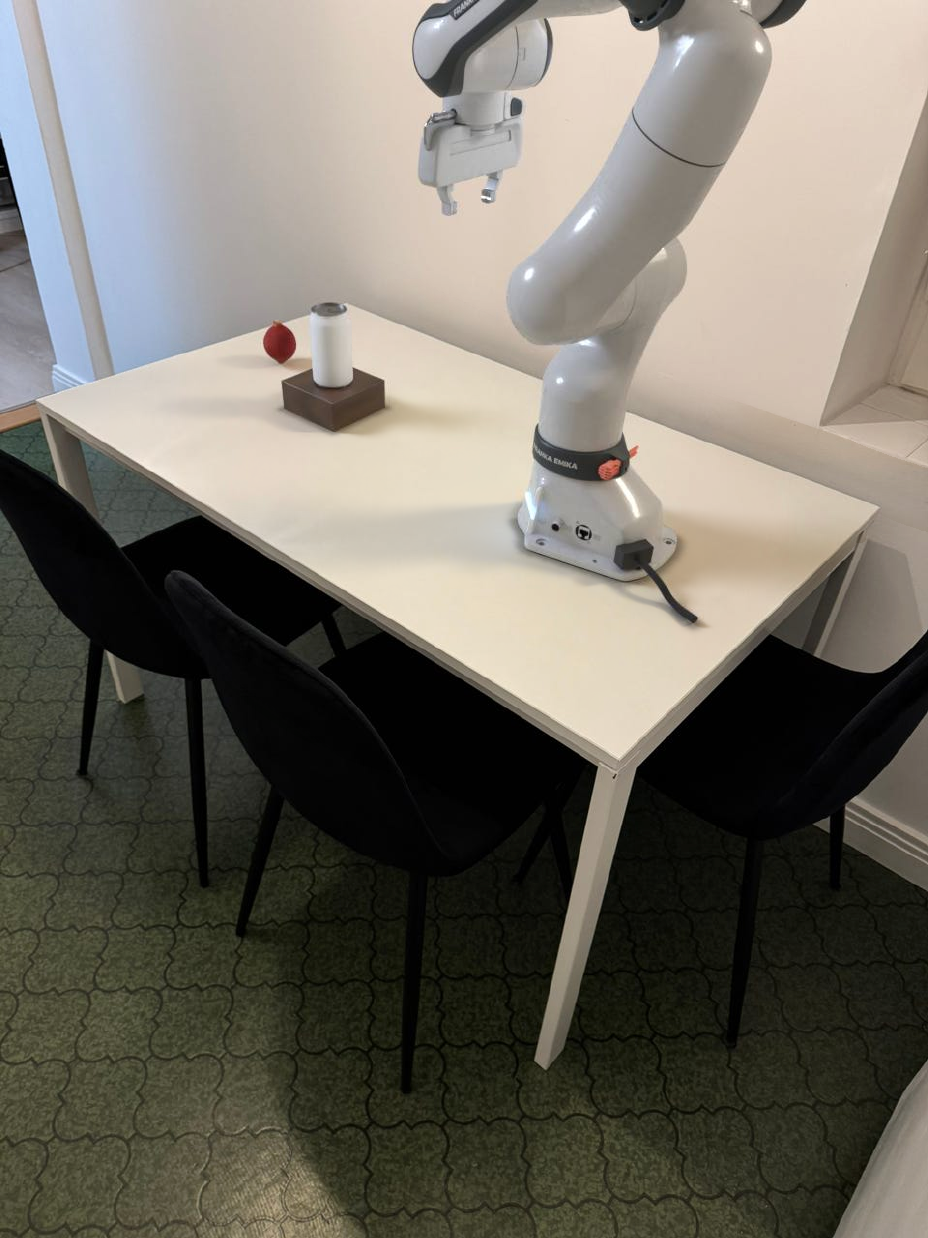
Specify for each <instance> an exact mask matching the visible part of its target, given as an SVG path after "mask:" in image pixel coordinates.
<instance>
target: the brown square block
mask: <svg viewBox="0 0 928 1238" xmlns="http://www.w3.org/2000/svg"><path fill="white" fill-rule="evenodd" d="M385 385H386V383H385V379H382V378H380V377H377V376H375V375H373V374H370V373H368V372H365V371H363V370H361V369H359V368H356V367H353V380H352V381H351V383H350V384H349V385H347V386H345V387H341V388H325V387H322V386H319V385H318V384H317V383H316V382H315V381H314V378H313V367H312V368H309V369H307V370H305V371H302V372H300V373H297V374H295V375H292V376H290V377H288V378H285V379H282V380H281V392H282V401H283V409H284V410H286V411H288V412H291V413H293V414H295V415H297V416H299V417H301V418H303V419H304V420H307V421H310V422H311V423H314V424H316V425H317V426H320V427H322V428H324V429H326V430H328V431H331V432H333V433H335V432H337V431H340V430H341V429H344V428H346V427H348V426H350V425H352V424H354V423H356V422H359V421H360V420H362V419H364V418H366V417H369V416H371V415H373V414H375V413H377V412H379V411H381V410H383V409H385V408H386V389H385V387H386V386H385Z"/></svg>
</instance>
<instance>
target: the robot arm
mask: <svg viewBox="0 0 928 1238" xmlns="http://www.w3.org/2000/svg"><path fill="white" fill-rule="evenodd" d="M806 2H807V0H445V2H435V3H433V4H431V5H430V6H429V7H428V8H427V9H426V11H425V12H424V14H423V15H422V16H421V18H420V19H419V21H418V23H417V25H416V27H415V29H414V32H413V36H412V43H411V54H412V62H413V66H414V70H415V72H416V74H417V76H418V77H419V79H420V80H421V81H422V83H424V85H425V87H427V88H428V89H429V90H430V91H431V92H432V93H433V94H434V95H435V96H437V97H438V98H440V99H442V105H441V107H442V108H441V109H442V111H441V112H433V113H432V114H430V116H429V118H428V119H427V121H426V122H425V123H424V125H423V129H422V130H423V131H422V134H421V137H420V142H419V151H418V163H417V164H418V165H417V177H418V181H420V184H422V186H427V187H430V188H434V189H436V190H435V191H436V192H437V195H438V197H439V200H440V202H441V214H442V215H444V216H448V217H450V216H454V215H456V214H457V213H458V201H455V200H454V198H453V195H452V192H454V186H455V185H454V184H457V183H461V182H465V181H468V180H473V179H476V178H479V177H483V176H485V177H487V180H486V184H485V187H484V188H483V189H481V198H480V199H481V200H480V201H481V202H482V203H483V204H488V205H489V204H492V203H493V204H494V203H495V202H496V201H497V190H498V188H499V187H500V184H501V181H502V179H503V173H504V171H506V170H509V169H512V168H515V167H517V166H518V165H519V162H520V159H521V156H522V150H523V139H524V138H523V137H524V121H523V119H522V116H524V115H525V111H526V100H525V99H524V98H523V97H520V96H517V95H515V94H513V93H510V91H522V90H523V91H524V90H527V89H531V88H535V87H536V86H538V85H539V84H540V82H542V80H543V79H544V78H545V76H546V75H547V73H548V70H549V67H550V65H551V61H552V57H553V51H554V49H553V47H554V36H553V32H552V28H551V24H550V23H549V20H548V19H553V18H564V17H566V18H567V17H582V16H583V17H584V16H595V15H602V14H608V13H610V12H612V11H615V10H618V9H621V8H622V7H624V8H625V9H626V10H627V13H628V18H629V22H630V24H631V26H632V27H633V28H634V29H635V30H636V31H639V32H648V31H651V30H654V29H655V28H657V33H658V50H657V55H656V58H655V60H654V62H653V66H652V68H651V70H650V72H649V74H648V77H647V78H646V80H645V82H644V84H643V86H642V88H641V89H640V91H639V93H638V95H637V97H636V99H635V101H634V102H633V103H634V104H633V105H632V107H631V110H630V112H629V114H628V115H627V118H626V120H625V122H624V124H623V126H622V128H621V130H620V132H619V134H618V136H617V138H616V140H615V142H614V144H613V146H612V148H611V150H610V152H609V154H608V156H607V157H606V160H605V161H604V164H603V166H602V168H601V169H600V171H599V173H598V174H597V175H596V177H595V178H594V180H593V182H592V183H591V185H590V186H589V187H588V188H587V190H586V192H585V193H584V194H583V195H582V197H581V198H579V200H578V201H577V203H576V204H575V205H574V207H573V208H572V209H571V210H570V212H569V213H568V214H567V216H566V217H565V218H564V219H563V220H562V221H561V222H560V224H559V225H558V227H557V228H555V230H554V231H553V232H552V233H551V235H550V236H549V237H548V238H547V239H546V241H544V242H543V243H542V244H541V245H540V246H539V247H538V248H537V249H536V250H535V251H534V252H532V253H531V254H530V255H529V256H527V257H526V258H525V259H523V260H522V261H521V262H520V263H519V264H518V265H516V267H515V268H514V269H513V270H512V272H511V274H510V276H509V279H508V281H507V285H506V287H507V288H506V297H505V298H506V308H507V312H508V315H509V319H510V321H511V323H512V325H513V327H514V328H515V330H516V331H517V332H518V334H519V335H520V336H521V337H522V338H523V339H524V340H525V341H526V342H528V343H530V344H532V345H535V346H538V347H546V346H548V347H550V346H553V347H554V346H561V348H560V349H559V350H558V352H557V353H556V354H555V355H554V356H553V358H551V360H550V362H549V363H548V365H547V367H546V368H545V371H544V374H543V376H542V385H541V395H540V404H539V415H538V422H537V423H536V425H535V427H534V431H533V433H534V434H533V441H532V450H531V454H532V458H533V463H532V469H531V473H530V478H529V482H528V486H527V490H526V492H525V496H524V498H523V501H522V504H521V506H520V508H519V511H518V512H517V523H518V526H519V528H520V530H521V531H522V533H523V535H524V538H523V546H524V548H525V549H527V550H528V551H531V552H534V553H537V554H540V555H543V556H546V557H548V558H551V559H554V560H557V561H561V562H563V563H567V564H570V565H572V566H576V567H579V568H582V569H583V570H584V569H585V570H588V571H590V572H594V573H596V574H600V575H603V576H606V577H609V578H612V579H615V580H618V581H622V582H629V581H630V582H631V581H635V580H639V579H642V578H644V577H647V576H649V577H650V579H651V580H652V581H653V582H654V584H655V585H656V586H657V589H659V591H660V593H661V595H662V596H663V599H665V601H666V602H667V603H668V604H669V606H670V607H671V608H672V609H673V610H674V611H676V612H677V613H678V614H679V615H681V616H682V617H684V618H686V619H687V620H688V621H690V623H692V624H694V623H696V622H697V621H698V617H699V616H697V615H695V614H694V613H693V612H691V611H689V610H688V608H686V607H684V606H683V605H681V604H680V602H679V601H677V599H675V597H674V596H673V595H672V593H671V592H670V590H669V588H668V586H667V584H666V583H665V581H664V580H663V578H662V577H661V576H660V575H659V574H658V572H657V570H658V569H660V568H661V567H663V566H664V565H665V563H667V562H668V561H669V559H670V558H671V557H672V556H673V554H674V553H675V551H676V549H677V543H678V540H677V539H678V537H677V536H678V535H677V533H676V532H675V531H674V530H672V529H671V528H668V527H667V526H666V525H664V508H663V503H662V501H661V499H660V498H659V497H658V495H656V493H655V492H654V491H653V490H652V489H651V488H650V486H649V485H648V484H647V483H646V481H644V479H643V478H642V477H641V476H640V475H639V473H638V472H637V471H636V470H635V468H634V467H632V465H631V459H632V458H634V457H635V456H636V455H637V454H638V451H637V450H638V449H639V445H635V446H634V447H633V448H630V449H628V446H627V441H626V437H625V434H624V432H623V431H624V426H625V425H624V424H625V421H626V420H625V419H626V414H627V410H628V403H629V398H630V393H631V388H632V386H633V385H632V384H633V382H634V381H633V380H634V378H635V375H636V372H637V370H638V367H639V364H640V363H641V360H642V358H643V356H644V353H645V351H646V348H647V347H648V345H649V342H650V340H651V338H652V336H653V334H654V332H655V330H656V328H657V326H658V324H659V322H660V320H661V319H662V317H663V315H664V314H665V312H666V311H667V310H668V308H669V307H670V306H671V304H672V303H673V302H674V301H675V300H676V299H677V297H678V296H679V295H680V293H681V292H682V291H683V288H684V287H685V283H686V280H687V275H688V261H687V255H686V251H685V249H684V247H683V245H682V243H681V241H680V239H679V238H678V237H679V236H680V235H681V233H683V232H684V231H685V230H686V229H687V227H688V226H689V225H690V224H691V222H692V221H693V220H694V218H695V216H696V214H697V213H698V211H699V210H700V208H701V206H702V205H703V203H704V202H705V199H706V198H707V196H708V194H709V193H710V191H711V190H712V188H713V186H714V185H715V183H716V181H717V179H718V178H719V177H720V174H721V173H722V171H723V169H724V168H725V166H726V165H727V162H728V161H729V159H730V158H731V156H732V154H733V152H734V151H735V149H736V147H737V145H738V144H739V142H740V140H741V138H742V135H743V134H744V133H745V130H746V128H747V126H748V124H749V122H750V120H751V118H752V115H753V113H754V111H755V109H756V107H757V104H758V102H759V100H760V97H761V95H762V92H763V90H764V87H765V85H766V82H767V79H768V77H769V74H770V71H771V68H772V61H773V50H772V46H771V45H772V44H771V41H770V39H769V37H768V35H767V33H766V31H765V30H766V29H771V28H775V27H778V26H781V25H783V24H785V23H786V22H788V21H789V20H791V19H792V18H793V17H794V16H796V15H797V14H798V13H799V12H800V10H801V9H802V7H804V5H805V4H806ZM508 91H509V92H508Z"/></svg>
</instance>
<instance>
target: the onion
mask: <svg viewBox="0 0 928 1238" xmlns="http://www.w3.org/2000/svg"><path fill="white" fill-rule="evenodd" d="M272 323H273V325H272V326H270V327H269V328H268V329H267V330H266V332H265V333H264V335H263V338H262V339H263V340H262V345H263V349H264V351H265V353H266V355H268V356H269V357H270V358H272V359H273V361H276V362H277V363H278V364H284V363H285V362H287V361H288V360H290V359H291V358H292V357H293V355H294V354H295V352H296V350H297V340H296V337H295V334H294V333H293V331H292V330H291V329H290V328H289V327H288V326H286V325H285V324H283V323H282V322H280V321H279V320H278V319H275V320H273V321H272Z"/></svg>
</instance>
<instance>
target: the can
mask: <svg viewBox="0 0 928 1238" xmlns="http://www.w3.org/2000/svg"><path fill="white" fill-rule="evenodd" d="M310 310H311V313H310V316H309V319H308V321H309V323H308V324H309V338H310V352H311V364H312V368H313V378H314V381H315V382H316V383H317V384H318V385H319V386H322V387H325V388H341V387H345V386H347V385H349V384H350V383H351V381H352V380H353V365H354V364H353V344H352V343H353V342H352V326H351V325H352V324H351V316H350V314H349V312H348V307H347V306H346V305H345V304H343V303H339V302H333V301H330V302H328V301H327V302H325V301H324V302H320V303H316V304H314V305H312V307H311V309H310Z"/></svg>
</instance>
